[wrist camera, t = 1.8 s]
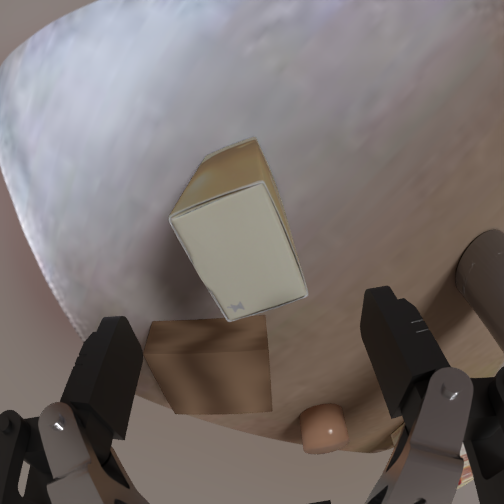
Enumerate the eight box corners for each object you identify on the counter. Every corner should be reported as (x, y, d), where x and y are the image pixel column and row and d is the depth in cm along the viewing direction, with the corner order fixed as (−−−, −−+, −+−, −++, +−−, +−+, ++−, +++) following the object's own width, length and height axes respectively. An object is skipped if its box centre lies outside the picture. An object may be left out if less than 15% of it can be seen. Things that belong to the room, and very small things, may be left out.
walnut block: (264, 312, 31) (268, 349, 27) (269, 379, 37) (272, 411, 33) (153, 319, 31) (143, 354, 27) (179, 383, 37) (175, 414, 33)
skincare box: (283, 204, 25) (314, 302, 14) (234, 222, 25) (229, 329, 15) (254, 131, 21) (266, 177, 11) (201, 153, 22) (163, 219, 12)
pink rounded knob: (344, 400, 41) (352, 432, 35) (339, 419, 44) (346, 449, 39) (299, 407, 41) (304, 441, 36) (299, 426, 44) (303, 456, 39)
